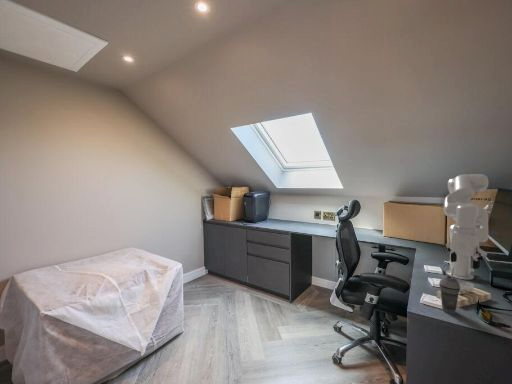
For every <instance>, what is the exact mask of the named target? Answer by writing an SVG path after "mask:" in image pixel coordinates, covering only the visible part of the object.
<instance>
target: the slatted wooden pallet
mask: <svg viewBox="0 0 512 384" xmlns="http://www.w3.org/2000/svg"><path fill="white" fill-rule="evenodd" d="M491 296H492V294H491V293H489V292H487V291H485V290H482V289H479V288H476V287H474V289H473V293H472V294H470V293H468V292H465V291H464V292H463V296H460V295H458V300H457V306H456V308H457V307H458V308H461V307H462V308H463V307H466V306H469V305H473V304H478V303H477V302H478V300H479V303H483V302H487V301H490V300H492V299H491V298H492V297H491ZM437 297H439V298H438V299H440V298H441V290H437V291H436V298H437Z"/></svg>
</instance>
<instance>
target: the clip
mask: <svg viewBox="0 0 512 384" xmlns="http://www.w3.org/2000/svg"><path fill="white" fill-rule="evenodd" d="M458 283H459V282H458ZM459 285H460V291H459V293H458V295H460V296H463V292H464V291H465V292H468V293H470V294H472V293H473V289H474V288H475V284H474V283H471V282H469V281H466V282H464V281H463V282H460V283H459Z"/></svg>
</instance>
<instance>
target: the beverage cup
mask: <svg viewBox="0 0 512 384" xmlns="http://www.w3.org/2000/svg"><path fill="white" fill-rule="evenodd" d="M453 271H454V268H453V269H452V274H451V276H449V275H447V276H443V277H441V279H440V280H439V284H438V285H439V289H440V291H441V299H440V300H441V301H440V302H441V308H442V311H443V312H444V313H445V314H448V315H455V314H456V313H457V312H456V310H457V300H458V293H459V291H460V285H459V281H458V280H457V278H455V277H453Z"/></svg>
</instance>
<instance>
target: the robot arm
mask: <svg viewBox="0 0 512 384" xmlns="http://www.w3.org/2000/svg"><path fill="white" fill-rule="evenodd" d="M489 184H490V183H489V179H488V176H487V175H486V174H484V173H469V174H467V173H466V174H459V175H457V176H455V177H452V178H449V179H448V181H447V190H448V193H449V194H448V195H447V196H446V197H445V198H444V200H443V213H444V215H445V216H446V217H449V218H450V217H451V218H452V219H453V220H454V221H455V223H453V224H451V225H450V226H449V227H448V234H449V240H450V241H449V242H448V243H445V247H446V249H447V251H448V252H449V261H450V265H449V269H448V270H446V275H447V276H450V277H451V274H452V269H453V268H454V271H453V278H455V279H459V280H464V281H465V280H466V281H467V280H473V279H474V275H473V274H471V273H472V272H473V273H474V272H475V270H478V269H479V268H480V266H481V261H482V260H484V259H485V258H486V257H487V255H488V253H487V252H486V251H485V250H483V249H482V248H480V243H485V242H487V241H488V240H489V214H488V211H487V209H485V208H483V207H480V206H479V205H478V204H476V203H471V201H472V200H471V199H472V198H474V197H475V195H476V192H479V193H480V192H481V193H482V192H484V191H486V190H487V189H488V187H489ZM471 257H472V258H471ZM471 259H473V260H472V268H471Z"/></svg>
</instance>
